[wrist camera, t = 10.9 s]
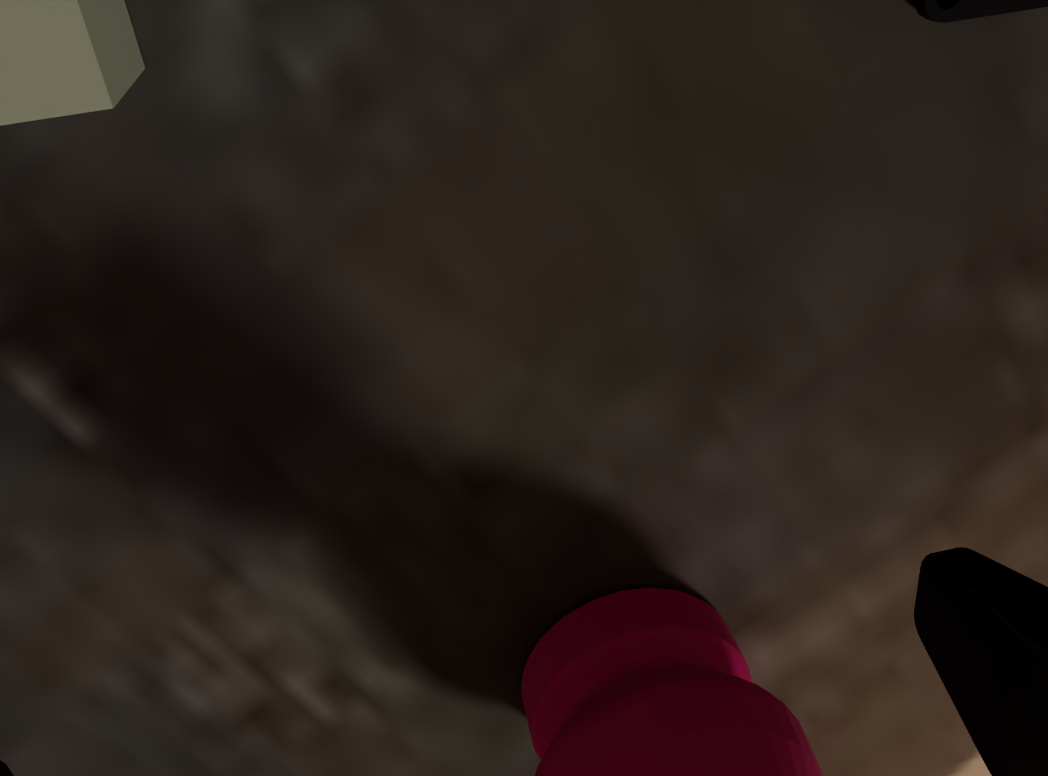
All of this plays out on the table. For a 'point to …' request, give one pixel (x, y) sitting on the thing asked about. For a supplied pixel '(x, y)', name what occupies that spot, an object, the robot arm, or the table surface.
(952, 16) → the robot arm
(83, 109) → the sage base
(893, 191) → the table surface
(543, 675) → the pepper mill
